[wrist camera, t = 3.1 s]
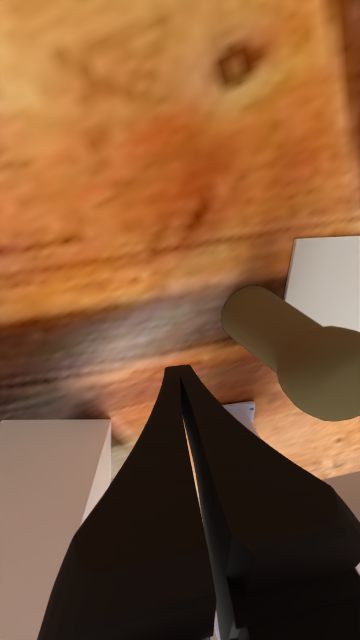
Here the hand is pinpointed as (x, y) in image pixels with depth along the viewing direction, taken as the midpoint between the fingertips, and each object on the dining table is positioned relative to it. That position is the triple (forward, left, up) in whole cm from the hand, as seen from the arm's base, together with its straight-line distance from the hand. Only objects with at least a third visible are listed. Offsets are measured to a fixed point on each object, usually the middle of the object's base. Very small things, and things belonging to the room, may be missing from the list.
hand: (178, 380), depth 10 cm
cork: (0, -8, -9) cm, 12 cm away
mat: (0, -18, -8) cm, 20 cm away
